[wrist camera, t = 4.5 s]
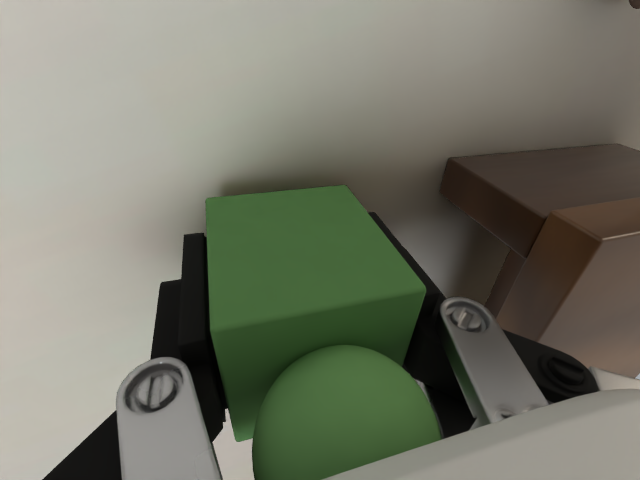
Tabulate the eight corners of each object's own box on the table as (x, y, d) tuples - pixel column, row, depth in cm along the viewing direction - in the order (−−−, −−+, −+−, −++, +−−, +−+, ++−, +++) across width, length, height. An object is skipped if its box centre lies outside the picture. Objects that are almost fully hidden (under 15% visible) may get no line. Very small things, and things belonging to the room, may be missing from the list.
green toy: (204, 196, 10) (218, 595, 3) (346, 183, 11) (564, 458, 4) (224, 302, 12) (252, 640, 6) (336, 282, 13) (464, 548, 7)
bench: (449, 151, 12) (602, 240, 8) (620, 137, 15) (816, 199, 10) (380, 405, 23) (428, 509, 18) (487, 373, 25) (554, 458, 20)
